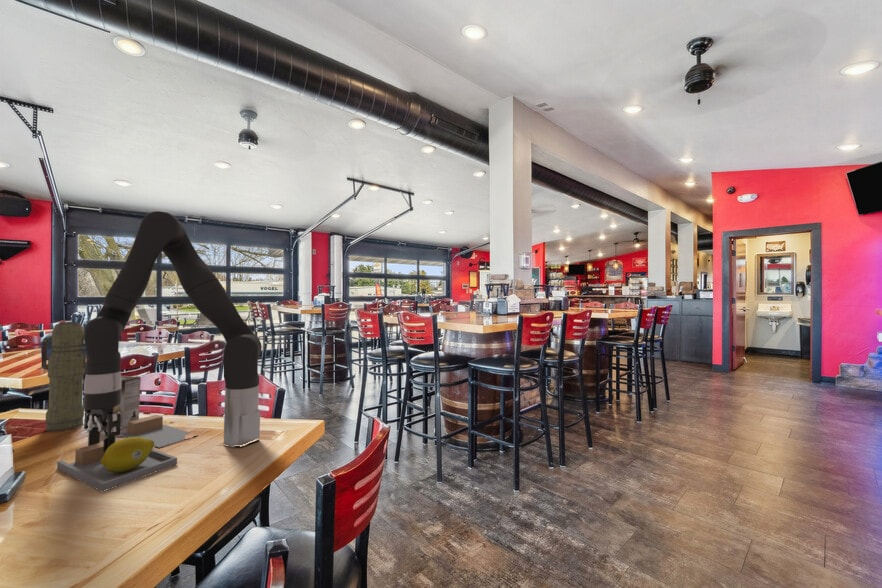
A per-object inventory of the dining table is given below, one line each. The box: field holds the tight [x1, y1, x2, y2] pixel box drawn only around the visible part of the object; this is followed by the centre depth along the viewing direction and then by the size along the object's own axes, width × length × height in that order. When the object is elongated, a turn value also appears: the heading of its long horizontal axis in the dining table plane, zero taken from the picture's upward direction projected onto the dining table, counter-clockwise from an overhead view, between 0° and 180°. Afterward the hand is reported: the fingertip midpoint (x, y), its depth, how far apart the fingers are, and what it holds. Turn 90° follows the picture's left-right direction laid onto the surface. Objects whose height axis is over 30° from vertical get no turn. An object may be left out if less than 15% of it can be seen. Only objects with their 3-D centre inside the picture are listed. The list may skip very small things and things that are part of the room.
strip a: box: [120, 414, 191, 449], centre depth 115 cm, size 22×11×4 cm, turn 64°
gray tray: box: [56, 437, 178, 492], centre depth 94 cm, size 24×16×4 cm, turn 64°
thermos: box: [41, 321, 87, 432], centre depth 121 cm, size 9×12×35 cm
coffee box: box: [113, 375, 141, 429], centre depth 124 cm, size 9×6×16 cm
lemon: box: [100, 437, 155, 473], centre depth 92 cm, size 11×8×8 cm
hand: (101, 448), depth 98 cm, fingers open, 8 cm apart
